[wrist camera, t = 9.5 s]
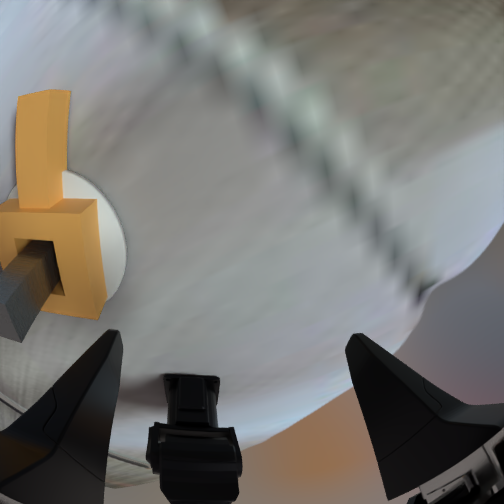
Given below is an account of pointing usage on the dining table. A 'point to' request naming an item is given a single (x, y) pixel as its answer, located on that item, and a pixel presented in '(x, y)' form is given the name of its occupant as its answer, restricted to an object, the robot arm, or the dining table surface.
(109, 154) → the dining table surface
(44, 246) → the dark grey post
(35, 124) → the bracket
